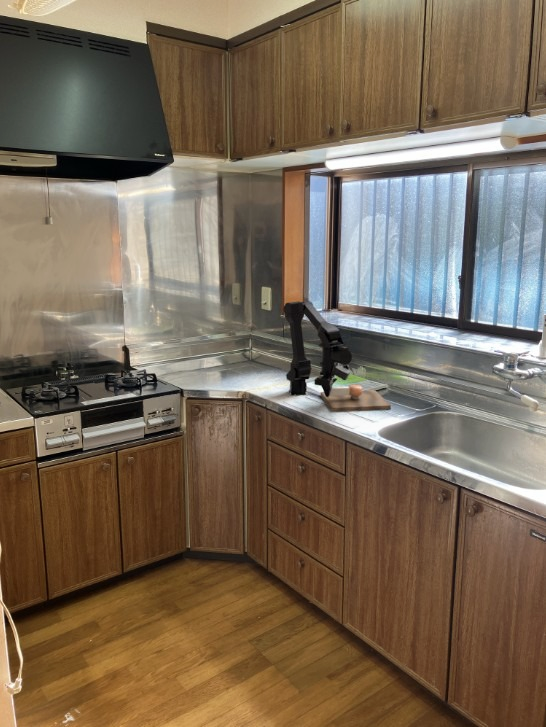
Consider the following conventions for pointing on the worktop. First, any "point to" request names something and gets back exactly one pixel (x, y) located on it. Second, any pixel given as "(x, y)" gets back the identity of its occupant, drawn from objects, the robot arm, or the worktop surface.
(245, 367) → the worktop surface
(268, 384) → the worktop surface
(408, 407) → the worktop surface
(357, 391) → the orange and white spoon
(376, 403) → the post board
